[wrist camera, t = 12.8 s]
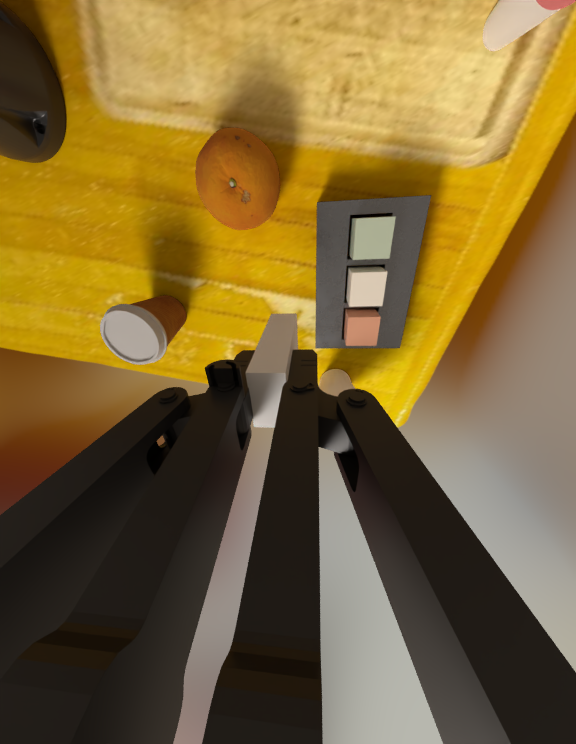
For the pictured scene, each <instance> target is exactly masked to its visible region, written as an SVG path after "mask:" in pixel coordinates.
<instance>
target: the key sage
mask: <svg viewBox="0 0 576 744" xmlns="http://www.w3.org/2000/svg"><path fill="white" fill-rule="evenodd" d="M395 218H396V217H393V216H382V217H364V218H351V229H350V243H349V256H350V257H351V258H352V259H353V260H363V259H390V252H391V245H392V238H393V232H394V225H395Z"/></svg>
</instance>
